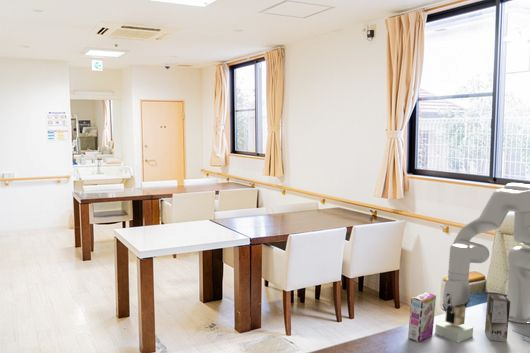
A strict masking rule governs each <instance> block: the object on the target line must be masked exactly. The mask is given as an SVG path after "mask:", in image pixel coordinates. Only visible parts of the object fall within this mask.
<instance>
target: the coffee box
mask: <svg viewBox="0 0 530 353" xmlns="http://www.w3.org/2000/svg"><path fill="white" fill-rule="evenodd" d="M485 309H486V312H485V324H484V325H485V326H484V333H485V334H486V336H487V337H488V339H489V341H495V342H502V343H507V341H508V332H509V331H508V330H509V323H510V322H509V311H510V301H509V300H508V298H507V295H505V294H502V293H501V294H500V293H487V298H486V308H485Z"/></svg>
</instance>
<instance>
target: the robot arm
mask: <svg viewBox="0 0 530 353" xmlns="http://www.w3.org/2000/svg"><path fill="white" fill-rule="evenodd" d="M509 212H514V218H513V219H514V220H513V239H514V241H515V242H517V244H520V245H525V246H520V245H518V246H514V247H512V248H510V250H509V251H508V254H507V261H508V262H507V263H508V282H507V283H508V284H507V294H506V297H507V298H508V300H509V301H510V311H509V321H510V322H513V323H517V324H526V323H527V322H530V184H526V183H520V182H519V183H518V182H510V183H507V184H505V185H504V187H503V188H498V189H496V190H494V191H493V192H492V194H491V196H490V198H489V199H488V201H487V202H486V204H485V206H484V208H483V209H482V211H481V214H480V216H479V217H477V218H475V219H473V220H472V221H470V222H469V223H467V224H466V225H464V226H463V227H462V228H461V229H460V230H459V232H458V234H456V237H455V239H454V240H453V242H452V244H451V245H450V247H449V259H448V260H449V261H448V269H447V270H448V271H447V278H446V280H445V283H444V289H443V295H442V302H443V303H442V304H441V305H442V307H443V308H444V310H445V312H446V311H447V318H446V317H445V318H446V320H447V321H448V322H450V323H454V315H455V313H454V309H455V306H457V305H462V306H465V307H466V308H467V306H468V304H469V303H470V302H471V300H470V282H469V280H470V279H469V278H470V277H469V276H470V266H471V264H483V263H485V262H486V261H488V259H489V257H490V249H489V248H488V247H487V246H485V245H484V244H481V243H477V242H474V241H471V240H472V239H473V238H474V237H475V236H477V235H479V234H483V233H487V232H492V231H495V230H498V229H500V228H501V226H502V224H503V223H504V220H505V219H506V217H507V215H508V213H509ZM526 246H529V247H526ZM450 306H452V308H450ZM466 308H465V310H466ZM527 324H528V323H527Z"/></svg>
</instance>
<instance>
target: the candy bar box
mask: <svg viewBox="0 0 530 353" xmlns="http://www.w3.org/2000/svg"><path fill="white" fill-rule="evenodd" d="M436 301H437V295H436V294H432V293H429V292H427V291H425V292H423V293H420V294H417V295H415V296H412V297H411V300H410V313H409V325H408V334H407V335H408V336H407V339H408V340H411V341H413V342H417V343H420V342H422V341H424V340H426V339H427V338H429V337H431V336H433V332H434V324H435V322H434V321H435V313H436V312H435V311H436V310H435V309H436Z"/></svg>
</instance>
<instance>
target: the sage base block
mask: <svg viewBox="0 0 530 353" xmlns="http://www.w3.org/2000/svg"><path fill="white" fill-rule="evenodd" d="M434 328H435V329H434V330H435V332H434V333H435V334H437V335H440V336H441V337H444V338H446V339H448V340H451V341H453V342H456V343H459V342H462V341H465V340H467V339H469V338H473V337H474V334H473V333H474V327H472V326H470V325H468V324H465V323H464V324H462V325H458V326H454V325H452V324H450V323H448V322H445V320H444V321H440V322H439V323H436V324H435V327H434Z"/></svg>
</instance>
